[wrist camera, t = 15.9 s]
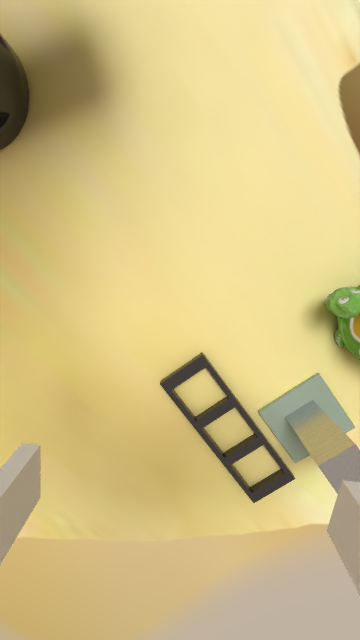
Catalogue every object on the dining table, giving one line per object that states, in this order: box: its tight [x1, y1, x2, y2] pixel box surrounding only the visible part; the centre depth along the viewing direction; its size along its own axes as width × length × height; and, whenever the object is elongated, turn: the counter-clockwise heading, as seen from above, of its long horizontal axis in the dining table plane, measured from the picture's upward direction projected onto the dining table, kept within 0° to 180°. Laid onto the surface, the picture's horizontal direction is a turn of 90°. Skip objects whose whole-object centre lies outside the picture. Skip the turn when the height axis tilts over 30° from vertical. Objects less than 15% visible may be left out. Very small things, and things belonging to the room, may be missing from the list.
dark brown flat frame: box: [160, 352, 295, 503], centre depth 44 cm, size 26×8×1 cm, turn 36°
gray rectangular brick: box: [285, 400, 360, 494], centre depth 39 cm, size 5×5×11 cm
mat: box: [258, 373, 355, 463], centre depth 44 cm, size 11×11×1 cm
